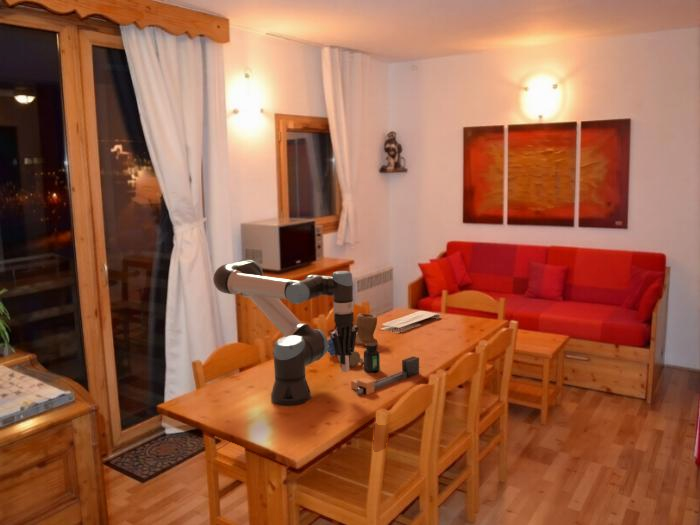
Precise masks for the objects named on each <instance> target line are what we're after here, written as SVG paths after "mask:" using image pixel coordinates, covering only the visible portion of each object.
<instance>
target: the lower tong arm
mask: <svg viewBox="0 0 700 525" xmlns="http://www.w3.org/2000/svg"><path fill="white" fill-rule="evenodd" d="M415 357H416V358H413V359H410V360H407V361H405V367H406V372H403V373H400V374H398V375H395V376H392V377H390V378H387V379H385V380H382V381H379V382H377V383H374V391H376V390H378V389H381V388H383V387H386V386H388V385H391V384H394V383H396V382H401V381H403V380H406V379H409V378H412V377H415V376H418V375H419V374H420V357H417V356H415Z"/></svg>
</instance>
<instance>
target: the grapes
mask: <svg viewBox="0 0 700 525" xmlns="http://www.w3.org/2000/svg"><path fill="white" fill-rule="evenodd" d="M327 340H328V350H327V353H329V356H331V357H333V356H337V355H336V353H335V348H334V344H333V340H332V337H331V336H330V335H329V339H327Z"/></svg>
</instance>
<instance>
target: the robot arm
mask: <svg viewBox="0 0 700 525" xmlns="http://www.w3.org/2000/svg"><path fill="white" fill-rule="evenodd" d="M212 281H213V284H214V286H215V288H216V289H217V290H218V291H219V292H220V293H223V294H227V295H228V294H229V295H239V294H240V295H242V297H243V298H248V299H250V300H251V301H252V302H253V303H254V304H255V305H256V306H257V308H258V309H259V310H260V311H261V312H262V313H263V314H264V315H265V317H267V319H268V320H269V321H270V322H271V323H272V324H273V325H274V326H275V327H276V329H278V331H280V333H281V334H282V335H283V336H282V337H280V338H278V339H277V340H276V341H275V342H274V344H273V352H272V353H273V354H272V355H273V362H274V363H273V366H274V383H273V386H272V387H273V388H272V390H271V393H270V397H271V398H270V399H271V402H272V403H273V404H275V405H278V406H284V407H294V406H298V405H299V406H300V405H303V404H305V403H307V402H308V401H310V399H311V398H312V397H311V396H312V394H311V389H310V386H309V383H308V381H307V378H306V367H307V366H309V365H311V364H313V363H314V362H317V361H319V360H321V359H322V358H324V357H325V355H326V354H327V353H328V351H327V350H328V340H329V339H328V337H327V335H326V333H324V332H323V331H322V330H321V329H316V328H315V329H313V328H312V327H311V325H309V324H308V323H303V322H301V320H299V318H298V317H296V315H295V314H294V313H293V312H292V311H291V310H290V309H289V307H287V305H286V304H284V303H283V301H282V300H288V302H290V303H291V304H295V305H296V304H302V303H304V302H306V301H309V300H312V299H314V298H318V297H320V296H330V297H333V298H332V299H333V302H332V303H333V312H334V313H333V322H334V324H335V325H334V326H335V327H334V330H333V331H331V332H330V333H329V337H330V336H331V337H332V340H333V344H334V348H335V353H336V355H335V356H338V355H339V356H340V361H339V362H340V364H341V372H343V373H346V374H347V373H350V366H349V362H350V355H352V353H351V352H354V350H355V348H356V346H355V345H356V343H355V340H356V334H357V331H358V327H357V326H355V325H354V323H353V322H354V320H355V315H354V281H353V274H352V272H350V271H349V270H339V271H338V270H337V271H334V272H333V273H332V276H331V275H321V274H320V275H319V274H309V275H307V276H306V277H305V278H304V279H303V280H296V279H295V280H294V279H287V278H280V277H274V276H272V277H271V276H264V272H263V267H261V265H260V264H259V263H258V262H256V261H255V260H253V259H242V260H239V261H235V262H231V263H226V264H222V265H221V266H219V267H218V268H217V269H216V271H214V274H213V279H212Z"/></svg>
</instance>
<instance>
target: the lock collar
mask: <svg viewBox="0 0 700 525" xmlns="http://www.w3.org/2000/svg"><path fill="white" fill-rule="evenodd" d="M374 381H375V380H372V379H370V378H367V377H362V378H359V379H358V378H355V379H352V380H351V381H350V388H351V389H352V390H355V391H357V387H360V386H361V387H364V388H366V391H365V394H366V395H370V394H372V393H375V390H374ZM366 395H365V396H366Z"/></svg>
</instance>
